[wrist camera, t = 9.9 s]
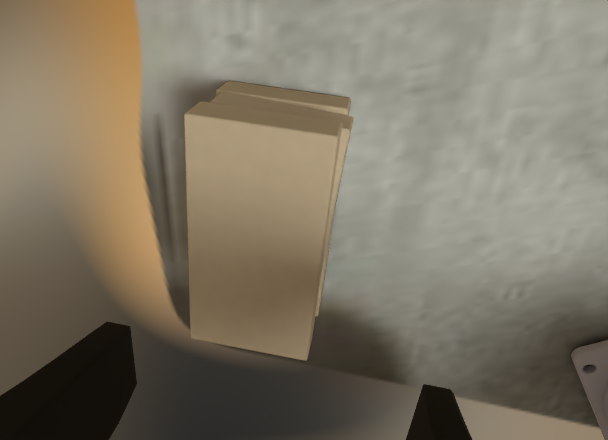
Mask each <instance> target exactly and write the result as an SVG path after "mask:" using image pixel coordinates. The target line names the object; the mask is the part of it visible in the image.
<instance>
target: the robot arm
mask: <svg viewBox="0 0 608 440" xmlns="http://www.w3.org/2000/svg"><path fill="white" fill-rule="evenodd" d="M571 358H572V361H573V363H574V366H575V368H576V371H577V373H578V375H579V378H580V380H581V383H582V385H583V388H584V390H585V392H586V395H587V397H588V400H589V402H590V405H591V407H592V409H593V412H594V414H595V417H596V419H597V422H598V424H599V427H600V429H601V431H602V434H603V436H604V439H605V440H608V340H606V341H602V342H598V343H594V344H590V345H586V346H582V347H579V348H576V349H575V350H574V351H573V352H572V354H571ZM591 364H592V365H591ZM586 365H590V366H586ZM584 366H586V367H584ZM136 384H137V381H136V372H135V364H134V355H133V347H132V338H131V330H130V326H126V325H121V324H116V323H111V322H106V323H104V324H103V325H102V326H100V327H99V328H97V329H96V330H94V331H93V332H92V333H90V334H89V335H87V336H86V337H85V338H83V339H82V340H81V341H79V342H78V343H76V344H75V345H74V346H72V347H71V348H69V349H68V350H67V351H65V352H64V353H62V354H61V355H60V356H58V357H57V358H56V359H54V360H53V361H51V362H50V363H48V364H47V365H46V366H44V367H43V368H41V369H40V370H38V371H37V372H35V373H34V374H32V375H31V376H30V377H28V378H27V379H25V380H24V381H22V382H21V383H19V384H18V385H16V386H15V387H13V388H12V389H10V390H9V391H7V392H6V393H4V394H2V395H1V396H0V440H109V438H110V437H111V435H112V433H113V432H114V430H115V428H116V427H117V425H118V423H119V421H120V419H121V417H122V415H123V413H124V411H125V409H126V407H127V404H128V402H129V400H130V398H131V396H132V393H133V391H134V389H135V386H136ZM406 440H472V438H471V436H470V434H469V431H468V429H467V426H466V424H465V422H464V419H463V417H462V414H461V412H460V409H459V407H458V404H457V402H456V399H455V396H454V394H453V392H452V391H451V390H450V389H446V388H441V387H436V386H431V385H426V384H423V387H422V390H421V394H420V397H419V400H418V403H417V406H416V410H415V413H414V416H413V419H412V422H411V426H410V429H409V432H408V435H407V438H406Z"/></svg>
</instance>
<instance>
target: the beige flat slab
mask: <svg viewBox="0 0 608 440" xmlns="http://www.w3.org/2000/svg"><path fill="white" fill-rule="evenodd" d="M184 129H185V162H186V196H187V229H188V262H189V296H190V329H191V338H192V339H197V340H201V341H207V342H212V343H217V344H222V345H227V346H232V347H237V348H243V349H248V350H253V351H258V352H263V353H268V354H274V355H279V356H284V357H289V358H294V359H299V360H304V361H306V360H307V359H308V354H309V349H310V345H311V340H312V335H313V328H314V321H315V313H316V306H317V299H318V292H319V285H320V278H321V271H322V264H323V257H324V250H325V243H326V236H327V229H328V222H329V215H330V208H331V201H332V194H333V187H334V180H335V172H336V165H337V158H338V151H339V144H340V137H341V130H342V122H339V121H332V120H325V119H319V118H312V117H305V116H298V115H291V114H284V113H278V112H271V111H264V110H257V109H250V108H243V107H237V106H230V105H223V104H216V103H209V102H202V101H200V102H199V103H197V104H196V105H195V106H193V107H192V108H191V109H190V110H188V111H187V112H186V113H185V114H184Z"/></svg>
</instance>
